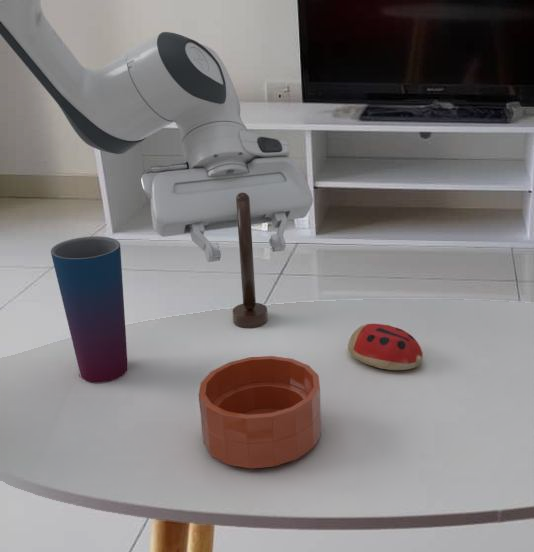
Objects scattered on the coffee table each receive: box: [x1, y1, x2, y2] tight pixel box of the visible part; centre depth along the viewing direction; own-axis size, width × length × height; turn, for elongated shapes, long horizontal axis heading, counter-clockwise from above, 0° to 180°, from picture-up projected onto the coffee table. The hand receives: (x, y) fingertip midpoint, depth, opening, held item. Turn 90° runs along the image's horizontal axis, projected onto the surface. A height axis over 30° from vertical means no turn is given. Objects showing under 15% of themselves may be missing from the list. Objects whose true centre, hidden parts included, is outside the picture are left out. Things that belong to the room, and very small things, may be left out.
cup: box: [50, 235, 129, 384], centre depth 82 cm, size 7×7×15 cm
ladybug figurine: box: [347, 323, 424, 371], centre depth 88 cm, size 7×10×4 cm
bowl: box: [198, 355, 322, 469], centre depth 72 cm, size 11×11×6 cm
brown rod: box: [232, 193, 269, 329], centre depth 94 cm, size 4×4×17 cm
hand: (247, 254), depth 93 cm, fingers open, 7 cm apart
